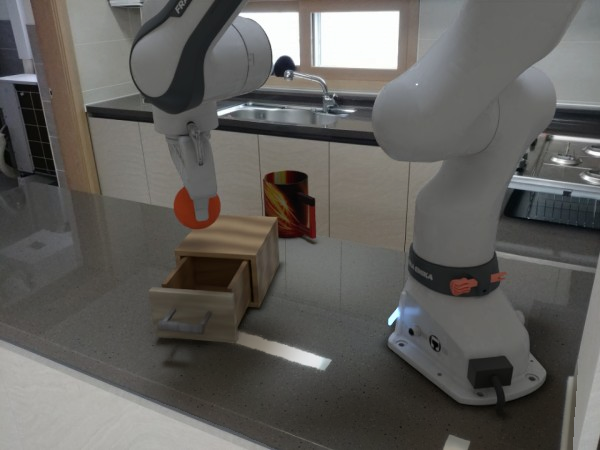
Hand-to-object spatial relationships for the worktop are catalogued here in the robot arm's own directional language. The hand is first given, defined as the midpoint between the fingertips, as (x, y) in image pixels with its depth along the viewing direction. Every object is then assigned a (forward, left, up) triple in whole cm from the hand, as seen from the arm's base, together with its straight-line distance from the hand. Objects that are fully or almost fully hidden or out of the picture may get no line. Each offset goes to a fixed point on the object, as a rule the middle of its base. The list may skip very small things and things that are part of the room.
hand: (196, 208), depth 80 cm
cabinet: (+9, -6, -19) cm, 22 cm away
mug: (+26, -24, -19) cm, 40 cm away
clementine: (0, 0, -3) cm, 3 cm away
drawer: (-3, +1, -18) cm, 18 cm away
